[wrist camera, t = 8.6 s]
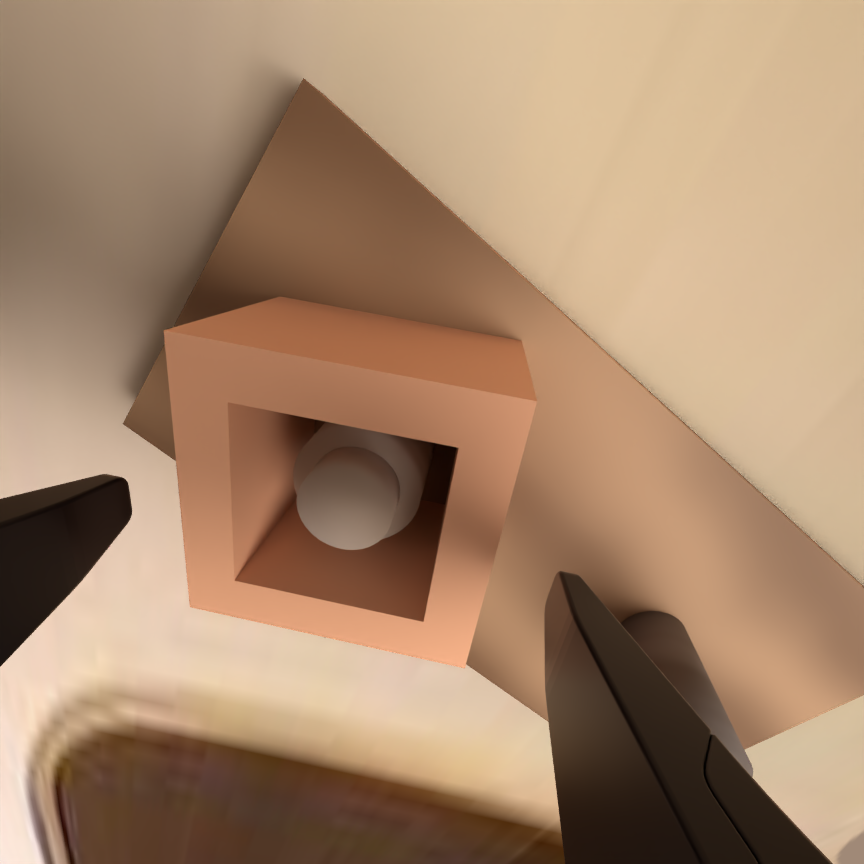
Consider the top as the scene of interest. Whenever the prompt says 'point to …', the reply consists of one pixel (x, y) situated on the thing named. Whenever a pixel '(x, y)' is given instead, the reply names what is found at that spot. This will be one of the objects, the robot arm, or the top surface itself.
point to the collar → (357, 407)
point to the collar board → (533, 451)
